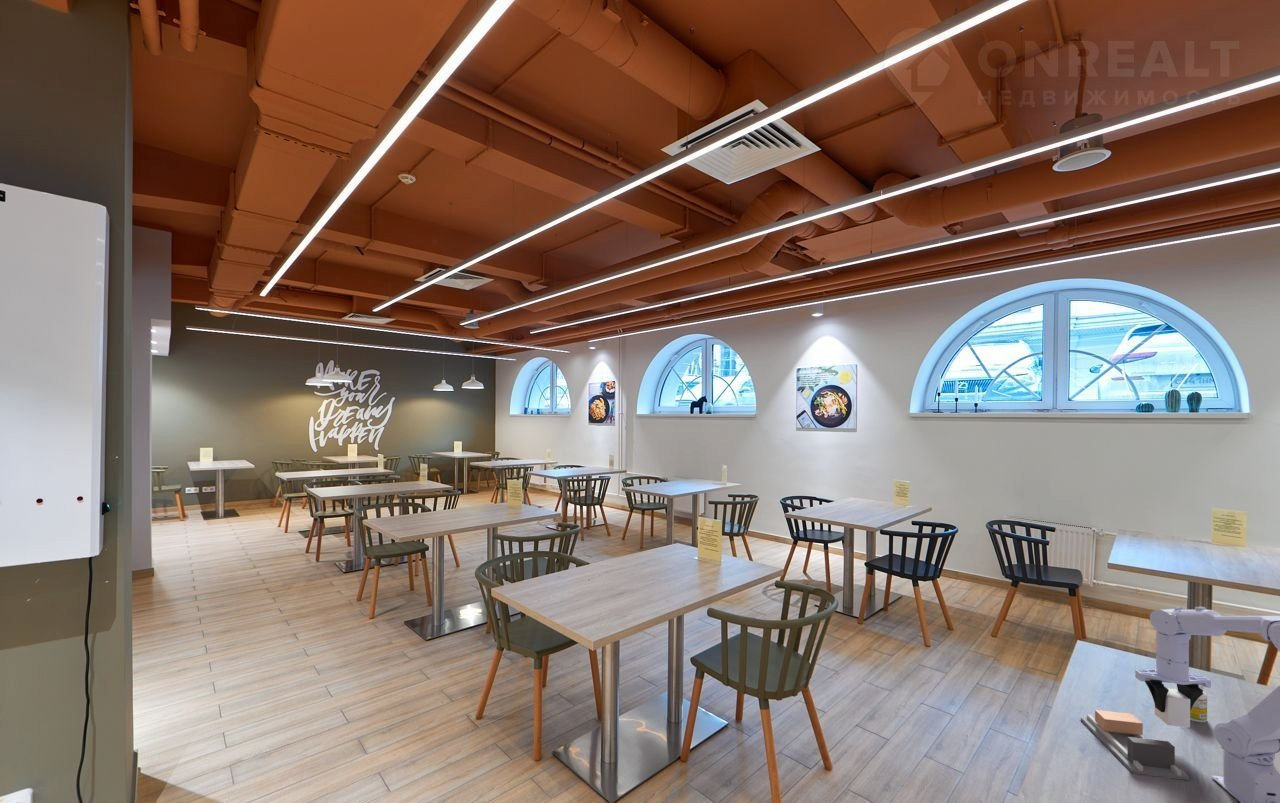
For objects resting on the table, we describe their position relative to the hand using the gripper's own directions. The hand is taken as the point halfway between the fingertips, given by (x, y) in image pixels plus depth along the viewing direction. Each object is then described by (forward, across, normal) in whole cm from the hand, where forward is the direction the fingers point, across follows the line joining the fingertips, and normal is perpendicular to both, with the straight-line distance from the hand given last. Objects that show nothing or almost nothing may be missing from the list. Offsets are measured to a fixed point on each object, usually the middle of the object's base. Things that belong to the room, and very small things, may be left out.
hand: (1172, 711), depth 130 cm
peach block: (+7, +10, -2) cm, 13 cm away
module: (+2, 0, 0) cm, 2 cm away
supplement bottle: (+10, -15, -16) cm, 24 cm away
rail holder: (+9, +10, +2) cm, 14 cm away
